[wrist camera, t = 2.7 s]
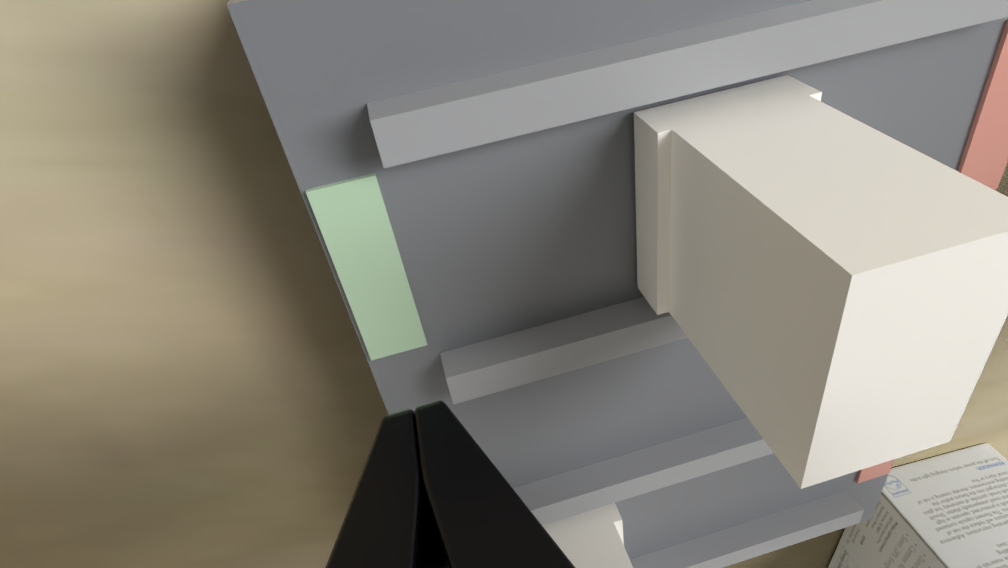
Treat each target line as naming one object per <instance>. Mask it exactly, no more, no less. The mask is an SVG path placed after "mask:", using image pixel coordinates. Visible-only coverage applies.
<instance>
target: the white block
mask: <svg viewBox="0 0 1008 568" xmlns="http://www.w3.org/2000/svg"><path fill="white" fill-rule="evenodd" d="M821 96H822V92H821V91H819V90H817V89H815V88H813V87H811V86H809V85H807V84H805V83H803V82H801V81H799V80H797V79H795V78H793V77H790V76H788V75H785V76H781V77H777V78H772V79H768V80H764V81H760V82H756V83H752V84H748V85H744V86H740V87H736V88H731V89H727V90H723V91H719V92H715V93H711V94H707V95H703V96H699V97H695V98H690V99H686V100H682V101H678V102H674V103H670V104H666V105H662V106H658V107H654V108H650V109H645V110H641V111H637V112H634V150H635V195H636V240H637V285H638V289H639V290H640V292H641V293H642V294H643V296H644V297H645V299H646V300H647V301H648V303H649V304H650V306H651V307H652V308H653V310H654V311H655V313H656V314H657V315H660V314H663V313H667V312H669V313H670V314H671V316H672V317H673V318H674V320H675V321H676V322H677V324H678V325H679V326H680V328H681V329H682V330H683V332H684V333H685V334H686V336H687V337H688V338H689V340H690V341H691V342H692V344H693V345H694V346H695V348H696V349H697V351H698V352H699V353H700V355H701V356H702V357H703V359H704V360H705V361H706V363H707V364H708V365H709V367H710V368H711V369H712V371H713V372H714V373H715V375H716V376H717V377H718V379H719V380H720V381H721V383H722V384H723V385H724V387H725V388H726V389H727V391H728V392H729V393H730V395H731V396H732V398H733V399H734V400H735V402H736V403H737V404H738V406H739V407H740V408H741V410H742V411H743V412H744V414H745V415H746V416H747V418H748V419H749V420H750V422H751V423H752V424H753V426H754V427H755V428H756V430H757V431H758V432H759V434H760V435H761V436H762V438H763V439H764V441H765V442H766V443H767V445H768V446H769V447H770V449H771V450H772V451H773V453H774V454H775V455H776V457H777V458H778V459H779V461H780V462H781V463H782V465H783V466H784V467H785V469H786V470H787V471H788V473H789V474H790V475H791V477H792V478H793V479H794V481H795V482H796V483H797V485H798V486H799V488H800V489H802V488H806V487H809V486H812V485H815V484H818V483H821V482H824V481H828V480H831V479H834V478H837V477H840V476H843V475H846V474H849V473H853V472H856V471H859V470H862V469H865V468H868V467H871V466H875V465H878V464H881V463H884V462H887V461H890V460H893V459H897V458H900V457H903V456H906V455H909V454H912V453H915V452H919V451H922V450H925V449H928V448H931V447H934V446H937V445H941V444H944V443H947V442H950V441H951V438H952V436H953V434H954V432H955V430H956V427H957V425H958V423H959V421H960V419H961V416H962V414H963V412H964V410H965V408H966V405H967V403H968V401H969V399H970V397H971V394H972V392H973V390H974V388H975V386H976V383H977V381H978V379H979V377H980V375H981V372H982V370H983V368H984V366H985V364H986V361H987V359H988V357H989V355H990V353H991V350H992V348H993V346H994V344H995V342H996V339H997V337H998V335H999V333H1000V331H1001V328H1002V326H1003V324H1004V322H1005V320H1006V317H1007V315H1008V197H1007V196H1005V195H1003V194H1001V193H999V192H997V191H995V190H993V189H991V188H989V187H987V186H985V185H983V184H981V183H979V182H978V181H976V180H974V179H972V178H970V177H968V176H966V175H964V174H962V173H960V172H958V171H956V170H954V169H952V168H950V167H948V166H946V165H944V164H942V163H940V162H938V161H936V160H934V159H932V158H931V157H929V156H927V155H925V154H923V153H921V152H919V151H917V150H915V149H913V148H911V147H909V146H907V145H905V144H903V143H901V142H899V141H897V140H895V139H893V138H891V137H889V136H887V135H885V134H884V133H882V132H880V131H878V130H876V129H874V128H872V127H870V126H868V125H866V124H864V123H862V122H860V121H858V120H856V119H854V118H852V117H850V116H848V115H846V114H844V113H842V112H840V111H838V110H837V109H835V108H833V107H831V106H829V105H827V104H825V103H823V102H821Z"/></svg>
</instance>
